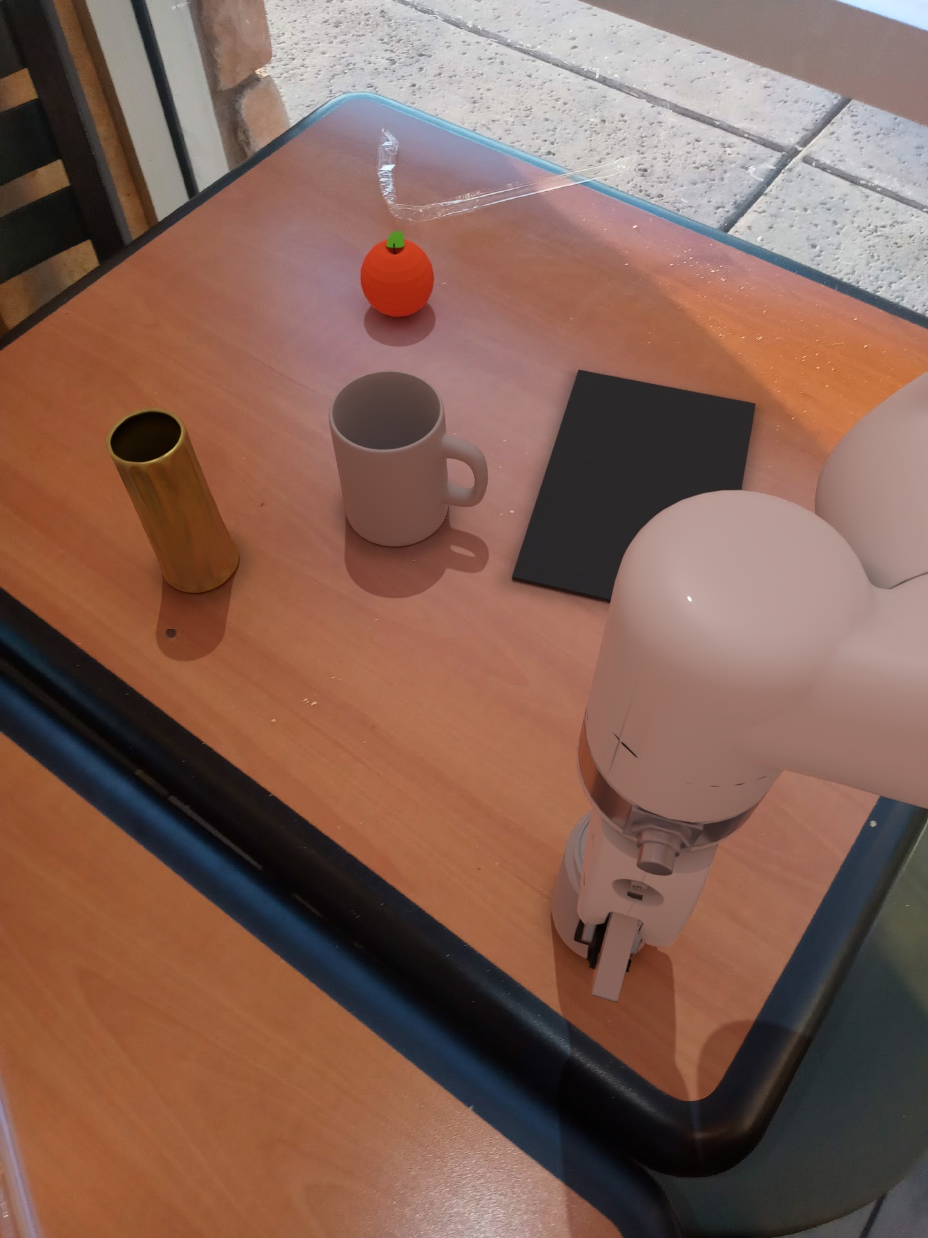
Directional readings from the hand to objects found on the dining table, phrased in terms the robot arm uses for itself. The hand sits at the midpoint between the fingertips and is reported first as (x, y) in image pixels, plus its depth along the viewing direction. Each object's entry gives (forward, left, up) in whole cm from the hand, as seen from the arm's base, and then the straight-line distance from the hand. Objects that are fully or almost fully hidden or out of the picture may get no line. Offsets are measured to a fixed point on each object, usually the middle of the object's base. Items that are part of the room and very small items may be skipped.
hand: (615, 880), depth 51 cm
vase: (+39, +10, -7) cm, 41 cm away
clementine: (+57, -19, -7) cm, 60 cm away
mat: (+26, -24, -7) cm, 36 cm away
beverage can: (0, 0, -7) cm, 7 cm away
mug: (+34, -7, -7) cm, 35 cm away
